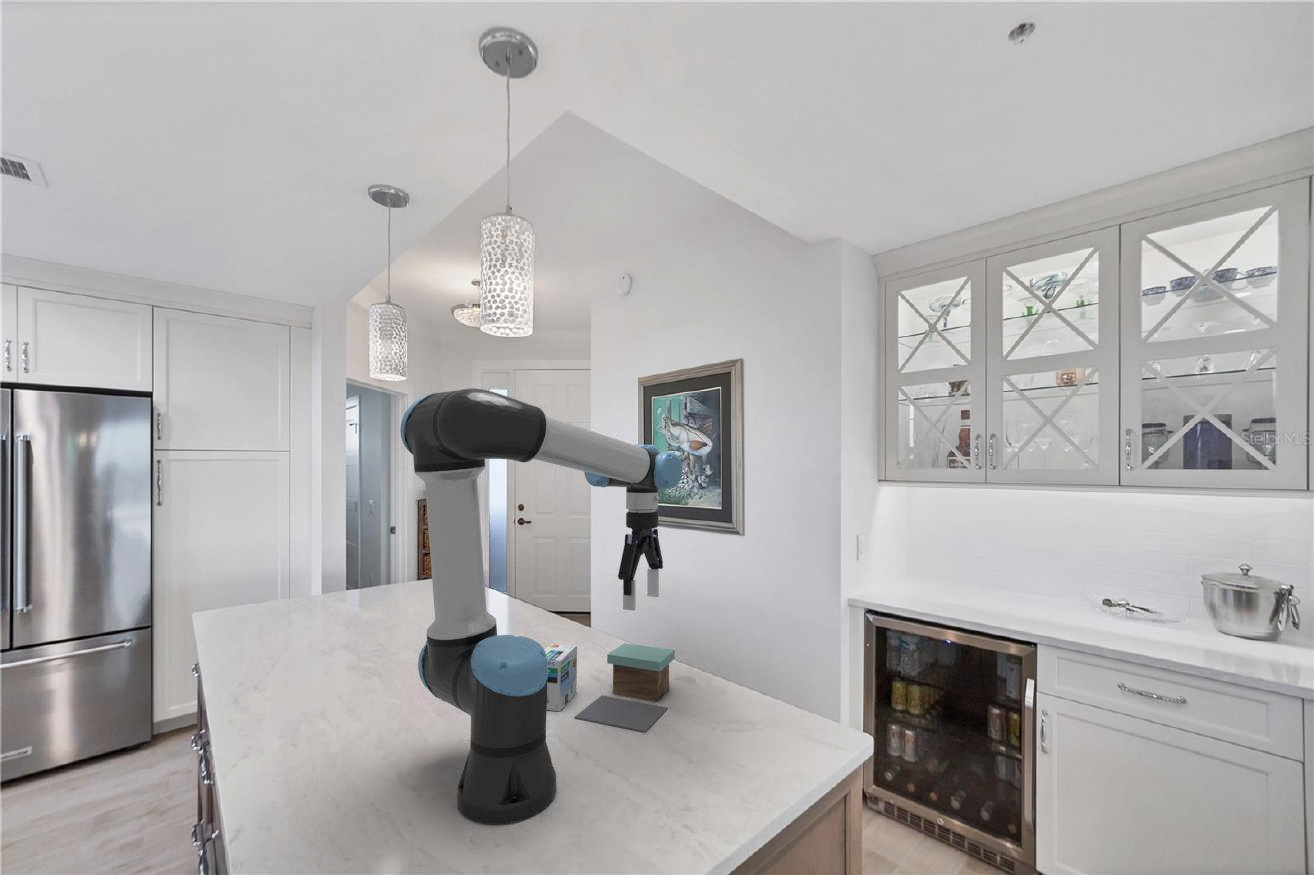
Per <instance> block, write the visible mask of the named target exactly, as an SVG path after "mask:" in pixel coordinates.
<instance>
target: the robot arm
mask: <svg viewBox="0 0 1314 875" xmlns="http://www.w3.org/2000/svg"><path fill="white" fill-rule="evenodd" d="M400 438H401V441H402V444H403V445H404V448H406V450H407V451H408V452H409V453H410V454H411V455H412V456H413V469H414V470H413V471H414V474H415V475H416V476H417V477H418V478H419V479H421V480H422V481H423V482H424V489H425V499H426V513H427V526H428V543H429V551H430V552H429V553H430V554H429V555H430V566H431V568H430V569H431V582H432V592H433V593H432V594H433V608H434V620H433V622H432V623H431V624H430V625H429V626H428V628H426V641H425V644H424V647H422V648H421V650H420V653H419V656H418V663H417V669H418V675H419V679H420V681H421V682H422V684H423V686H424V687H425V688H426V689H427V691H429V693H431V694H432V695H433V697H435V698H437V699H439V700H441V701H443V702H444V703H448V704H450V705H451V706H453V707H455V708H457V709H459V710H460V711H462V712H464V713H465V714H467V715H469V716H470V740H469V741H470V742H469V743H470V745H469V752H468V755H467V758H466V759H465V763H464V766H463V770H462V773H461V775H460V779H459V782H458V784H457V791H456V800H457V801H456V806H457V809H458V810H459V813H461V815H462V816H464V817H465V818H467V819H468V820H471V821H473V822H476V823H481V824H485V825H486V824H487V825H488V824H489V825H502V824H511V823H515V822H519V821H522V820H526V819H528V818H531V817H533V816H535V815H537V814H538V813H540V812H542V811H543V810H545V809H546V808H547V807H548V806H549V805H550V804H551V803H552V802H553V801H554V799H555V797H556V793H557V774H556V773H557V772H556V770H555V767H554V765H553V762H552V757H551V754H550V750H549V747H548V745H547V744H548V743H547V711H548V710H547V679H548V668H547V657H546V652H545V650H544V649H545V648H544V647H543V646H542V645H541V643H539V642H538V641H536V640H535V639H532V638H530V637H526V636H523V635H519V636H515V635H514V634H501V635H500V634H499V635H498V628H497V626H498V625H497V620H496V619H497V618H496V617H495V616H494V615H492V614H491V613H489V612H488V609H487V598H486V584H485V572H484V571H485V570H484V557H483V556H484V555H483V544H482V543H483V542H482V527H481V526H482V525H481V516H480V502H479V501H480V500H479V486H478V478H479V476H480V475H481V474H482V472H483V471H485V468H486V460H508V461H509V460H510V461H516V462H520V463H529V462H531V461H533V460H537V461H540V462H544V463H548V464H553V465H557V466H560V467H565V468H568V469H573V470H576V471H577V470H578V471H580V472H581V471H582V472H583V473H584V478H585V479H586V482H587V483H588V484H589V485H591V486H593V487H598V488H599V487H601V488H607V487H609V488H611V487H614V488H616V487H617V488H625V490H626V493H625V495H626V496H625V497H626V498H625V509H626V510H628V511H627V512H626V513H625V526H626V528H628V529H631V534H628V533H626V534H625V536H624V545H623V551H622V555H621V559H620V564H619V569H618V574H617V578H618V580H621V581H622V582H623V583H622V609H623V610H625V611H626V610H627V611H635V610H636V604H637V603H636V599H637V598H636V596H637V595H636V594H637V591H636V588H637V587H636V584H637V582H636V581H637V580H636V579H635V576H636V572H637V569H638V566H639V564H640V560H641V557H642V556H643V555H644V557H645V558H646V562H647V565H648V567H649V568H648V569H647V570H646V572H647V579H646V580H647V581H646V583H647V585H646V586H647V587H646V588H647V589H646V592H647V593H646V594H647V597H651V598H652V597H653V598H659V597H660V596H659V594H660V590H659V589H660V570H663V568H664V564H663V563H664V562H663V556H662V551H661V544H660V541H659V530H658V527H659V512H658V511H657V510H658V509H659V501H660V500H661V498H660V496H659V490H665V489H673V488H675V487H677V486H678V485H679V484H680V482H681V481H682V480H681V479H682V477H683V471H684V470H683V462H682V460H681V458H680V457H679V456H678V455H677V454H676V453H675V452H671V451H665V450H661V451H659V448H658V446H656V445H654V444H632V443H629V442H626V441H624V440H620V439H617V438H615V437H611V436H607V435H604V434H601V433H598V432H596V431H592V430H589V429H586V428H583V427H580V426H577V425H574V424H571V423H568V422H564V421H562V420H558V419H555V418H553V417H549V416H547V414H546V413H545V410H543V409H542V408H541V407H538V406H535V405H532V404H529V403H527V402H524V401H520V400H519V399H515V398H512V397H509V396H506V395H503V394H501V393H497V392H493V391H491V390H487V389H483V388H476V387H475V388H470V387H469V388H463V389H459V390H451V391H450V390H449V391H443V392H442V391H441V392H434V393H433V392H432V393H431V394H428V395H426V396H423V397H421V398H419V399H417V400H415V401H414V402H413V403H412V404H411V405H410V406H409V407H408V408H407V409H406V411H405V412H404V414H403V417H402V419H401V423H400Z"/></svg>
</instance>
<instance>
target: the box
mask: <svg viewBox="0 0 1314 875" xmlns="http://www.w3.org/2000/svg"><path fill="white" fill-rule="evenodd" d="M669 691H670V663H669V664H668V665H667V666H666V667H665V668H664V669H662V670H661V671H653V670H647V669H640V668H634V667H628V666H621V665H615V664H612V694H613V695H618V696H625V697H628V698H629V697H630V698H635V699H641V700H646V701H651V702H652V701H653V702H656V703H657V702H659V701H660V700H661V699H662V698H663V697H664V696H665V695H666V694H667V693H668V692H669Z"/></svg>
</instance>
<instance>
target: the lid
mask: <svg viewBox="0 0 1314 875" xmlns="http://www.w3.org/2000/svg"><path fill="white" fill-rule="evenodd" d="M675 652H676V651H675V649H669V648H662V647H655V646H647V645H640V644H633V643H628V642H627V643H625V642H624V643H622V644H621V645H619V646H618V647H616V648H615V649H613V650H611V651H610V652H609V653H607V656H606V657H607V658H606V659H607V662H606V663H607V664H611V665H613V664H615V665H621V666H628V667H634V668H640V669H647V670H653V671H661V670H662V669H664V668H665V667H666V666H667V665H668V664H669V665H670V664H671V663H672V662H673V661H674V660H675V658H676V654H675Z"/></svg>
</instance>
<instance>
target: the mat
mask: <svg viewBox="0 0 1314 875" xmlns="http://www.w3.org/2000/svg"><path fill="white" fill-rule="evenodd" d="M668 709H669V707H668V706H663V705H658V704H652V703H651V704H650V703H645V702H640V701H635V700H628V699H624V698H618V697H613V696H607V695H600V696H599V697H598V698H596V699H595V700H594V701H593V702H591V703H590V704H589V705H588V706H586V707H585V708H583V709H582V710H581V711H580V712H579V713H578V714H576V715H575V716H574V717H573V718H574V719H575V720H580V721H586V722H591V723H594V724H595V723H596V724H601V725H606V726H610V727H614V728H621V729H626V730H630V731H636V732H640V733H645V734H646V733H647V732H648V730H650V729H651V728H652V727H653V726H654V725H655V723H656V722H658V720H659V719H660V718H661V717H662V716H663V715H664V713H665V712H667V711H668Z"/></svg>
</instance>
